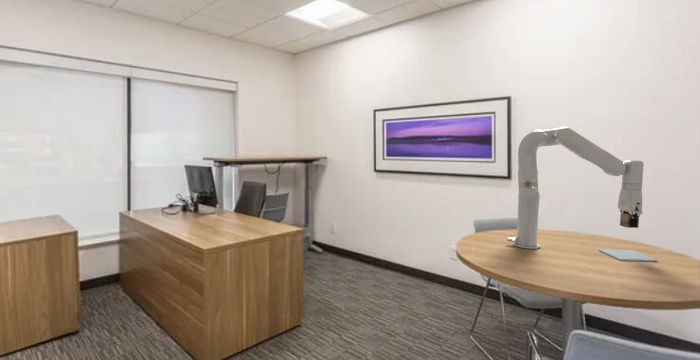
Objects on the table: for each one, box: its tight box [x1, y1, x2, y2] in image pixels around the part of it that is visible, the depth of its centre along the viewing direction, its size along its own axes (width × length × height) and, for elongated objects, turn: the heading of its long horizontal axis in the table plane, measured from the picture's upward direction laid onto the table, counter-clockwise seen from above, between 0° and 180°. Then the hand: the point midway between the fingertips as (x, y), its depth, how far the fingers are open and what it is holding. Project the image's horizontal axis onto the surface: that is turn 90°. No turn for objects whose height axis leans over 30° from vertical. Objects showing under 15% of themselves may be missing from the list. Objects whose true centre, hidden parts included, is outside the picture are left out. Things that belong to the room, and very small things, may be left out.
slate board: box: [598, 248, 658, 263], centre depth 173 cm, size 16×16×1 cm
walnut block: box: [619, 212, 640, 229], centre depth 172 cm, size 5×5×6 cm
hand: (629, 225), depth 172 cm, fingers closed on walnut block, 5 cm apart
